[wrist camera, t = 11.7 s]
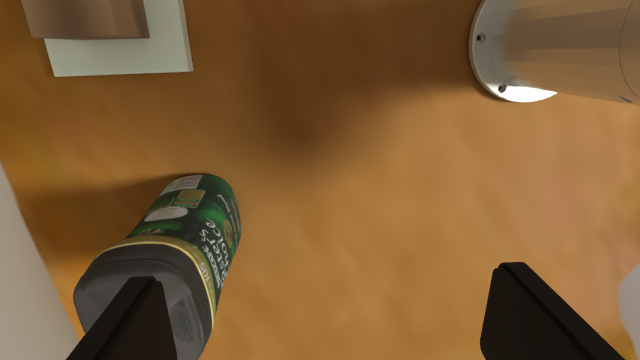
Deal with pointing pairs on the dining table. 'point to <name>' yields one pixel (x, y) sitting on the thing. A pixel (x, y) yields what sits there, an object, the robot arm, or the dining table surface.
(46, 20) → the walnut cube
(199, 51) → the dining table surface
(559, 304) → the robot arm
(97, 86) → the dining table surface
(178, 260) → the coffee jar
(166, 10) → the plate
